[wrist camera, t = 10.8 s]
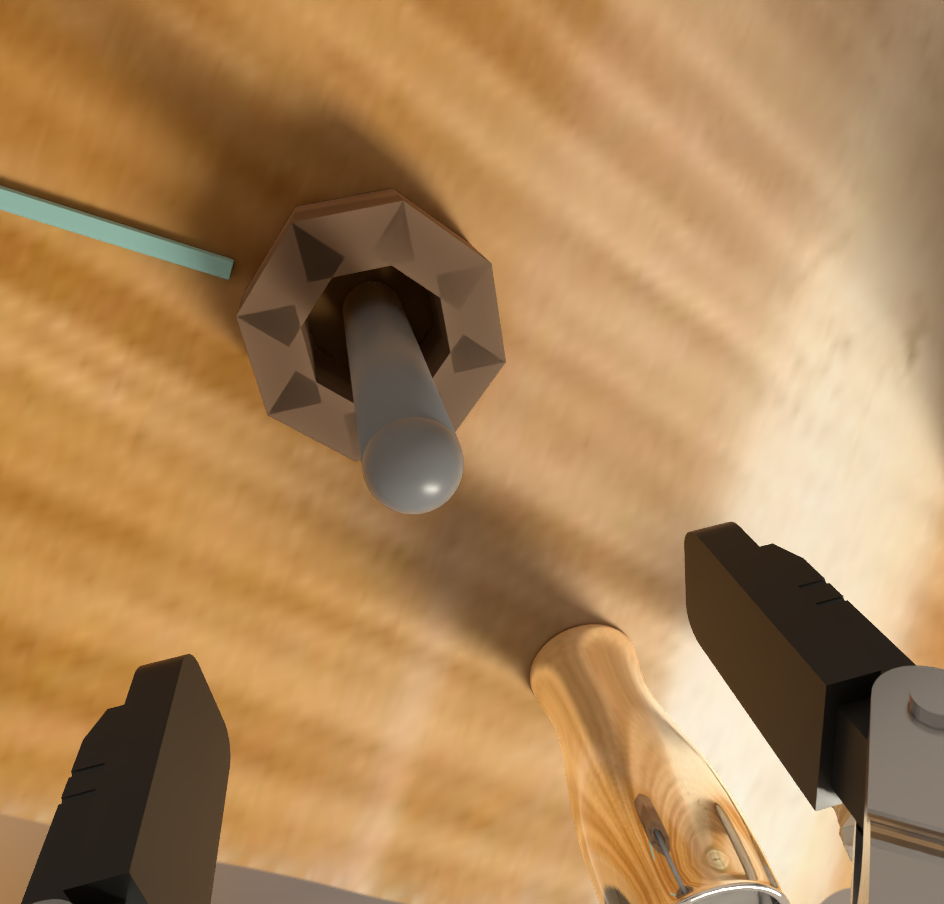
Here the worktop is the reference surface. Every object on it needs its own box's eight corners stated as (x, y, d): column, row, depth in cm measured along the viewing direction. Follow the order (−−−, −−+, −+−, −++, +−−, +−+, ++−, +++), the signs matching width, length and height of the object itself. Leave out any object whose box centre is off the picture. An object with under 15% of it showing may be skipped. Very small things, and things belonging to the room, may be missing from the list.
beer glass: (530, 618, 38) (645, 893, 25) (652, 614, 40) (822, 871, 26) (513, 717, 41) (607, 1012, 28) (627, 710, 42) (768, 986, 29)
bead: (459, 175, 28) (480, 185, 24) (492, 388, 32) (514, 424, 28) (224, 220, 27) (211, 238, 23) (290, 434, 31) (287, 477, 28)
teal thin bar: (234, 259, 28) (233, 262, 27) (230, 277, 28) (228, 280, 27) (-68, 163, 24) (-75, 164, 24) (-70, 184, 25) (-77, 186, 24)
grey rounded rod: (395, 276, 29) (463, 427, 16) (407, 332, 30) (480, 519, 17) (336, 288, 29) (353, 452, 15) (350, 345, 30) (378, 544, 17)
